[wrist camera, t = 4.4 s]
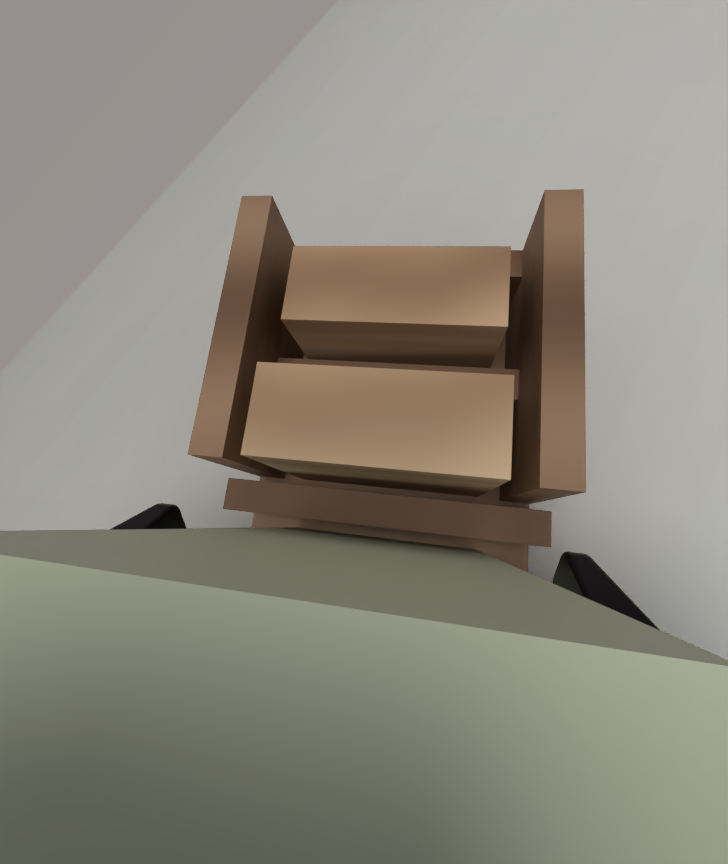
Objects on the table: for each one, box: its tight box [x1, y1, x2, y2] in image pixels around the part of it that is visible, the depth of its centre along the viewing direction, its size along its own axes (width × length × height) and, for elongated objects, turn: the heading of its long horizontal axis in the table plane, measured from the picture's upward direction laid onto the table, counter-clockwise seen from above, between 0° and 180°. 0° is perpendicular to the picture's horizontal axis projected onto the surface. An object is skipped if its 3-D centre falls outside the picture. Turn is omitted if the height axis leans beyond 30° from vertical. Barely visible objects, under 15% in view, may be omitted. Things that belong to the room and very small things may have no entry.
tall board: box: [0, 527, 728, 864], centre depth 8 cm, size 2×6×12 cm, turn 84°
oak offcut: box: [240, 362, 514, 497], centre depth 12 cm, size 2×6×6 cm, turn 84°
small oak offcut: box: [281, 246, 511, 368], centre depth 14 cm, size 2×6×4 cm, turn 84°
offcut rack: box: [188, 189, 586, 572], centre depth 13 cm, size 15×10×6 cm, turn 174°
